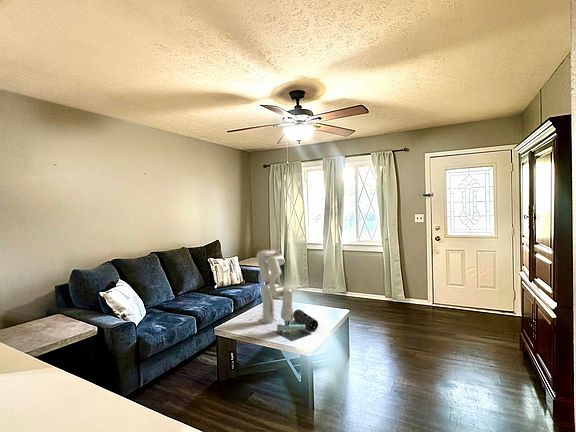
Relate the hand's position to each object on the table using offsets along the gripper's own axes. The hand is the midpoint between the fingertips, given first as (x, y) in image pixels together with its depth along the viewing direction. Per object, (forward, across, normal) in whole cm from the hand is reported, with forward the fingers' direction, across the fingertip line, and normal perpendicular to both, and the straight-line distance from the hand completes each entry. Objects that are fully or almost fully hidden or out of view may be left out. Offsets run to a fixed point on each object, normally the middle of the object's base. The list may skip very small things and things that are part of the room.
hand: (287, 328), depth 243 cm
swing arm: (+1, +5, 0) cm, 5 cm away
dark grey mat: (+2, +7, 0) cm, 7 cm away
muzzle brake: (+3, +1, +18) cm, 18 cm away
